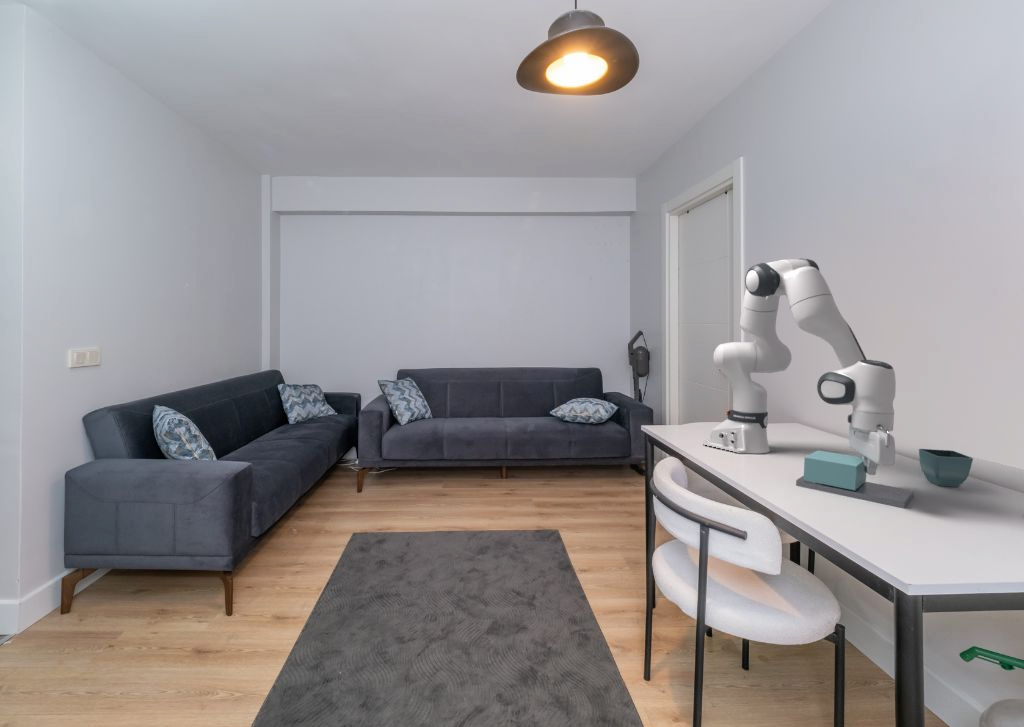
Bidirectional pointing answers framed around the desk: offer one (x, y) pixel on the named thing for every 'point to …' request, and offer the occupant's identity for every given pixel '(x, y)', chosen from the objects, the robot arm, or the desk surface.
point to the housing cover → (834, 469)
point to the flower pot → (945, 466)
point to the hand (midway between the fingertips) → (869, 473)
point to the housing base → (866, 492)
